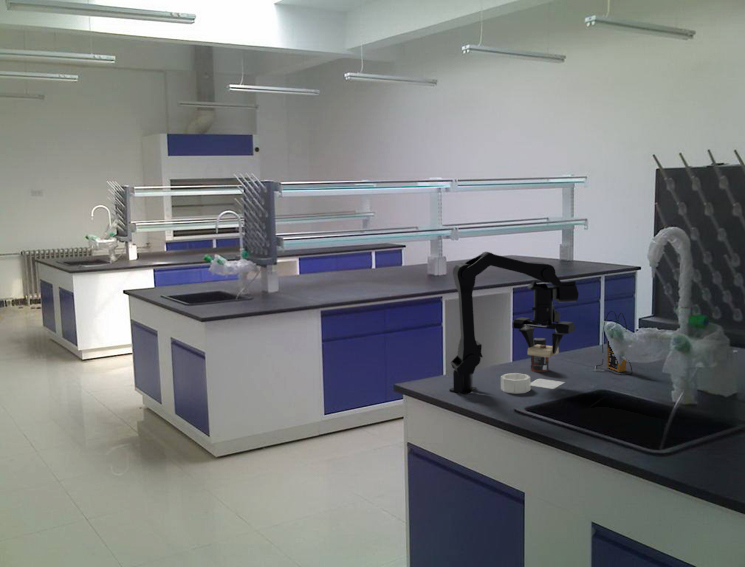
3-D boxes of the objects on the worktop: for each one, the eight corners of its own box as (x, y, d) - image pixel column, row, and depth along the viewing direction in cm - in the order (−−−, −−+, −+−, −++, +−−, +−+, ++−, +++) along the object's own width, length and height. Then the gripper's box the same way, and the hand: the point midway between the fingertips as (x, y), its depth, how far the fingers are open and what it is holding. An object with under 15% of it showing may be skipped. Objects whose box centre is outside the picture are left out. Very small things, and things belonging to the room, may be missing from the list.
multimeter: (581, 367, 251) (582, 310, 249) (606, 365, 254) (607, 308, 252) (607, 377, 237) (608, 317, 235) (633, 374, 240) (634, 315, 238)
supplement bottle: (550, 373, 245) (550, 340, 243) (532, 373, 245) (532, 340, 243) (546, 369, 251) (546, 336, 249) (529, 369, 251) (529, 337, 249)
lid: (549, 357, 224) (549, 348, 223) (527, 354, 228) (527, 346, 228) (558, 353, 229) (558, 344, 229) (537, 350, 234) (537, 342, 233)
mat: (553, 390, 224) (553, 388, 224) (526, 386, 230) (526, 384, 230) (564, 383, 231) (564, 382, 231) (538, 380, 237) (538, 378, 237)
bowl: (521, 396, 219) (521, 381, 218) (496, 392, 224) (496, 377, 224) (534, 389, 226) (534, 375, 225) (509, 385, 231) (509, 372, 230)
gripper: (582, 302, 227) (581, 350, 229) (527, 297, 239) (526, 344, 241) (568, 307, 219) (567, 357, 221) (511, 302, 230) (511, 350, 232)
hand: (543, 352), depth 229 cm, fingers closed on lid, 7 cm apart
